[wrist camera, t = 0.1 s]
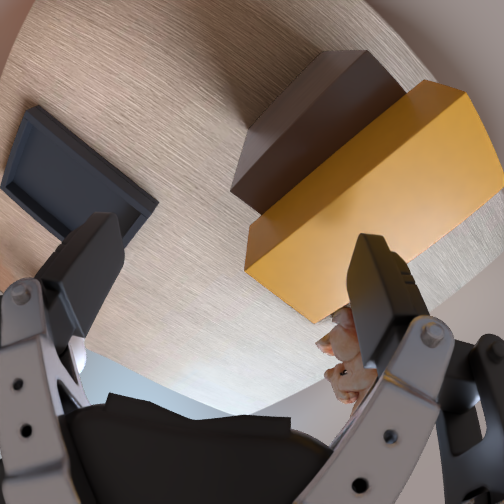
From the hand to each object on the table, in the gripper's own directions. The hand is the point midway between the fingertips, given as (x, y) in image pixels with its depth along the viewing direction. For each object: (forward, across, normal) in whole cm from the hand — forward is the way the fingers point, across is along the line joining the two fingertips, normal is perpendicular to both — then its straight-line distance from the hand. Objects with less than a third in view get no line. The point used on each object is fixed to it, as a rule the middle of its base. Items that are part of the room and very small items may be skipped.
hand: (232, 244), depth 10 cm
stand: (+17, -6, 0) cm, 18 cm away
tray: (+17, +18, +6) cm, 26 cm away
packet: (+5, -6, 0) cm, 7 cm away
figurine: (+17, -13, +22) cm, 30 cm away
